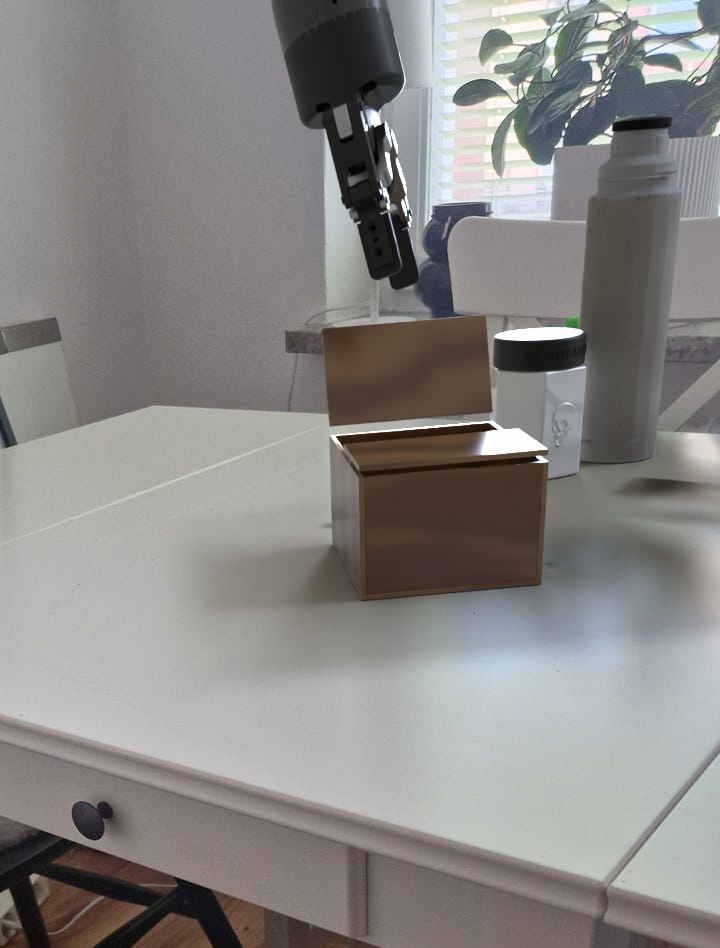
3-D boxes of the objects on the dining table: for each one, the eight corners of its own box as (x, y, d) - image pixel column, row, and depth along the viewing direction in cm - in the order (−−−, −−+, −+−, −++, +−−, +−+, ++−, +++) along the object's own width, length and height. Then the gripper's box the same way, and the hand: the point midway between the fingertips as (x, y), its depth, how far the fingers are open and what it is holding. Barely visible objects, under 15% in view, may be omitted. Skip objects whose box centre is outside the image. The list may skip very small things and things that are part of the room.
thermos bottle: (556, 450, 117) (578, 122, 103) (631, 442, 118) (663, 116, 103) (590, 466, 110) (618, 118, 96) (669, 457, 111) (709, 111, 97)
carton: (332, 543, 94) (328, 424, 90) (488, 529, 94) (493, 410, 90) (360, 600, 81) (358, 466, 77) (541, 584, 82) (549, 449, 77)
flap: (329, 425, 89) (329, 426, 90) (492, 411, 90) (491, 412, 90) (321, 328, 89) (321, 330, 89) (486, 314, 89) (484, 316, 89)
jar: (521, 486, 105) (528, 343, 99) (467, 471, 112) (471, 336, 106) (598, 470, 109) (610, 331, 102) (542, 456, 115) (550, 324, 109)
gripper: (368, -27, 71) (435, 251, 76) (404, 36, 84) (460, 271, 88) (256, 27, 74) (327, 293, 78) (308, 80, 87) (366, 307, 91)
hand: (397, 281), depth 83 cm, fingers open, 8 cm apart
